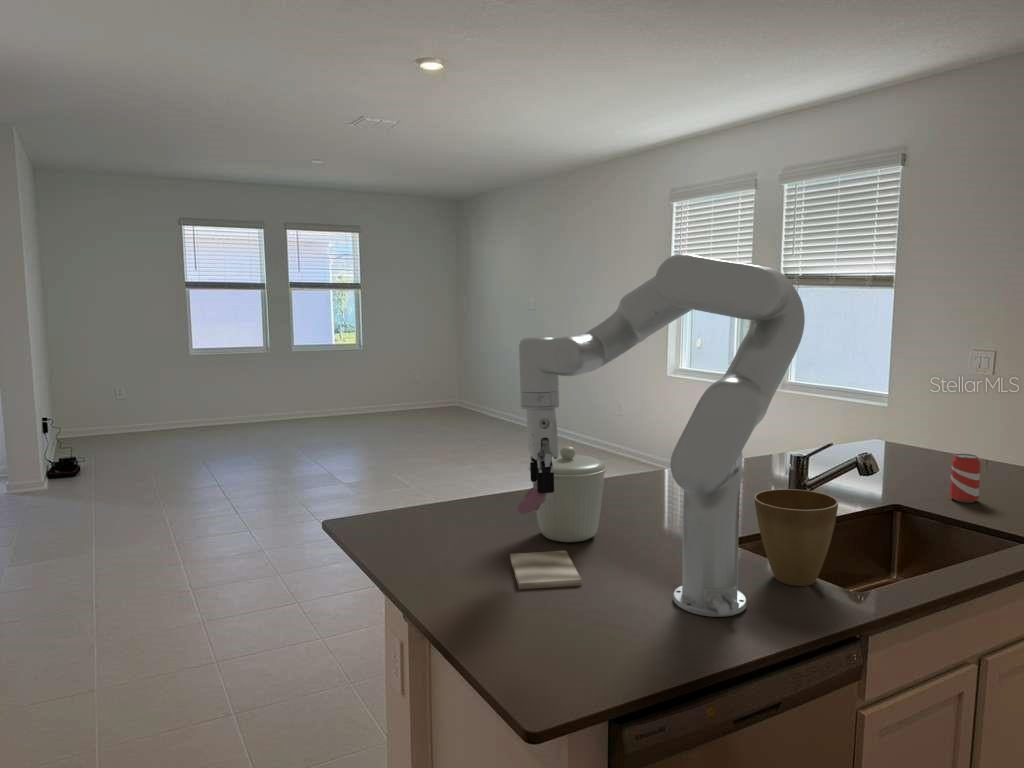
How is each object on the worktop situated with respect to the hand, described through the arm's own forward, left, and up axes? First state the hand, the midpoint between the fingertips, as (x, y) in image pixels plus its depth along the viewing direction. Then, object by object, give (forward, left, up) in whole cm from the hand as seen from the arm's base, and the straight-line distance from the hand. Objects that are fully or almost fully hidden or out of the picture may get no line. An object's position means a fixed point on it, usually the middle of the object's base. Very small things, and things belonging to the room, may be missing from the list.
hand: (542, 486), depth 140 cm
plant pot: (-11, -47, -18) cm, 52 cm away
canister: (+21, -9, -18) cm, 29 cm away
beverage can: (+32, -117, -18) cm, 123 cm away
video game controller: (0, +1, -5) cm, 5 cm away
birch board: (0, 0, -18) cm, 18 cm away
